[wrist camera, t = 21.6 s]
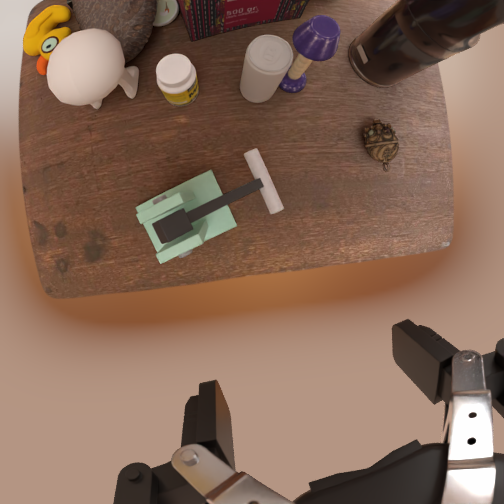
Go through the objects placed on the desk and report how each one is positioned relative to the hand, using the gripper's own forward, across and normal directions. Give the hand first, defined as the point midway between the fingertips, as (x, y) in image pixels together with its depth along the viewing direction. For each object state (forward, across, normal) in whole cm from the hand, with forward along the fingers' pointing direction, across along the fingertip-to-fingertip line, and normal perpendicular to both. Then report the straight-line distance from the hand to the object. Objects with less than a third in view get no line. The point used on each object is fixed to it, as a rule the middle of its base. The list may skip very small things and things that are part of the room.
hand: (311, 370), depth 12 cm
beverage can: (+30, -6, -20) cm, 37 cm away
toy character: (+30, +13, -26) cm, 42 cm away
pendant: (+30, -21, -9) cm, 38 cm away
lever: (+22, +3, -6) cm, 23 cm away
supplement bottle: (+30, +4, -22) cm, 38 cm away
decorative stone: (+28, +9, -39) cm, 48 cm away
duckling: (+28, +25, -44) cm, 57 cm away
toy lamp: (+30, -11, -20) cm, 38 cm away
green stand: (+30, +7, -6) cm, 31 cm away
